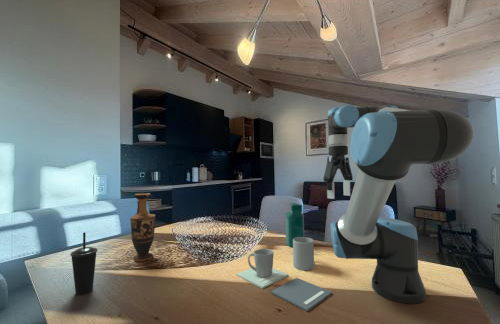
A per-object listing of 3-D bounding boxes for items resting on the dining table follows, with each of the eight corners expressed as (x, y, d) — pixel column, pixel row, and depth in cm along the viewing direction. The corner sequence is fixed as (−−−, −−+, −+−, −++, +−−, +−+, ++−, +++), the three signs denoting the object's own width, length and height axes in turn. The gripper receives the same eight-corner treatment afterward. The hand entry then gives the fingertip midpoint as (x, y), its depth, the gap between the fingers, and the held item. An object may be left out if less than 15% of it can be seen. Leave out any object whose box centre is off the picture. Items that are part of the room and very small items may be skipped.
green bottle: (285, 242, 131) (284, 202, 132) (300, 241, 132) (299, 201, 132) (290, 248, 121) (289, 205, 122) (306, 247, 122) (305, 204, 123)
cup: (273, 279, 86) (272, 255, 87) (246, 277, 89) (245, 254, 89) (275, 271, 94) (274, 248, 94) (250, 269, 96) (250, 248, 96)
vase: (158, 259, 110) (157, 193, 110) (132, 265, 104) (132, 195, 104) (152, 252, 119) (152, 192, 119) (128, 257, 112) (128, 193, 113)
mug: (314, 271, 94) (313, 243, 95) (292, 269, 97) (291, 242, 97) (314, 260, 106) (313, 235, 106) (294, 258, 108) (294, 234, 108)
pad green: (288, 275, 91) (288, 273, 91) (262, 288, 82) (262, 286, 82) (262, 265, 101) (262, 263, 101) (236, 275, 92) (236, 273, 92)
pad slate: (331, 293, 78) (331, 291, 78) (306, 311, 68) (306, 309, 68) (296, 279, 88) (296, 277, 88) (270, 293, 79) (270, 290, 79)
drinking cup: (81, 285, 86) (81, 229, 86) (102, 285, 85) (102, 229, 86) (64, 297, 78) (64, 235, 78) (87, 297, 78) (87, 235, 78)
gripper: (343, 147, 111) (344, 193, 110) (313, 144, 94) (314, 199, 93) (360, 146, 105) (361, 194, 105) (331, 143, 88) (332, 200, 88)
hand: (339, 196), depth 99 cm, fingers open, 13 cm apart
